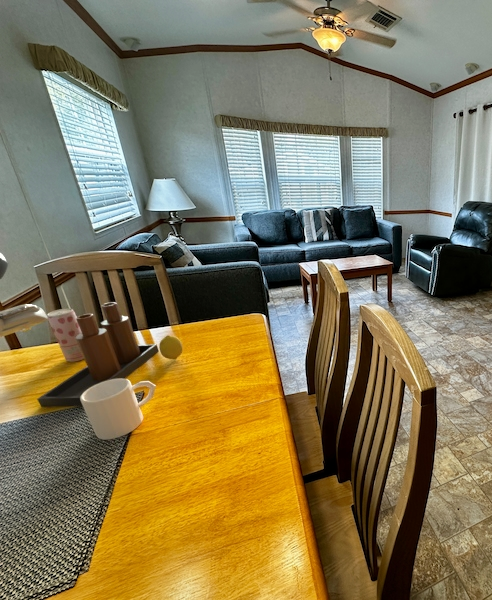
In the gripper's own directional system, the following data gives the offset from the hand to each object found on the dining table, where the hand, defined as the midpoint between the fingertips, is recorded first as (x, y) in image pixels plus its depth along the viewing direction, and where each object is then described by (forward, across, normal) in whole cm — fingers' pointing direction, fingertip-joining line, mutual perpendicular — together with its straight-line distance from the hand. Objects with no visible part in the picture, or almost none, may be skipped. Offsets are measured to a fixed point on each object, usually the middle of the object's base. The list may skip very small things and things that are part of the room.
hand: (1, 336), depth 83 cm
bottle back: (+4, -19, +18) cm, 27 cm away
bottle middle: (-2, -14, +21) cm, 25 cm away
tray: (-2, -14, +21) cm, 25 cm away
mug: (-24, -15, +36) cm, 46 cm away
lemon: (-3, -28, +25) cm, 38 cm away
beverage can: (+13, -9, +10) cm, 18 cm away
